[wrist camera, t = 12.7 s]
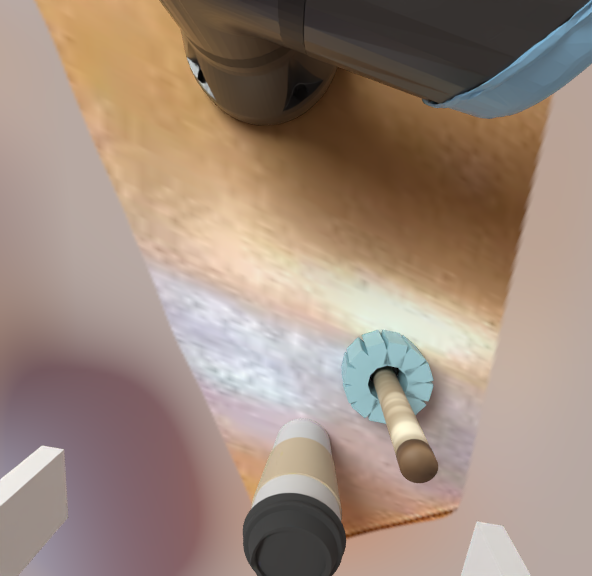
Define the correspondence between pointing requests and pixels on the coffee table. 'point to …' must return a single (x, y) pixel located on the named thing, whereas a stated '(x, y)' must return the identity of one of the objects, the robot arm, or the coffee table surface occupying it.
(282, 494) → the coffee cup
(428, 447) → the tan cylindrical rod
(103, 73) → the coffee table surface
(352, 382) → the bead
